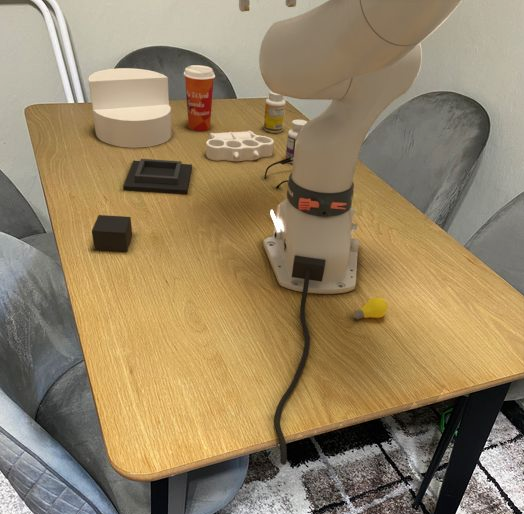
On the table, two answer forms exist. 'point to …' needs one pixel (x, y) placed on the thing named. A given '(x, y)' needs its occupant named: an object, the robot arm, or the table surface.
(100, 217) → the black block
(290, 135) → the pill bottle
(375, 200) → the table surface
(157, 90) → the container
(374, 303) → the light bulb
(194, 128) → the coffee cup
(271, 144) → the white brass knuckles
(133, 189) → the base pad
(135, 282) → the table surface
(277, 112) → the supplement bottle
